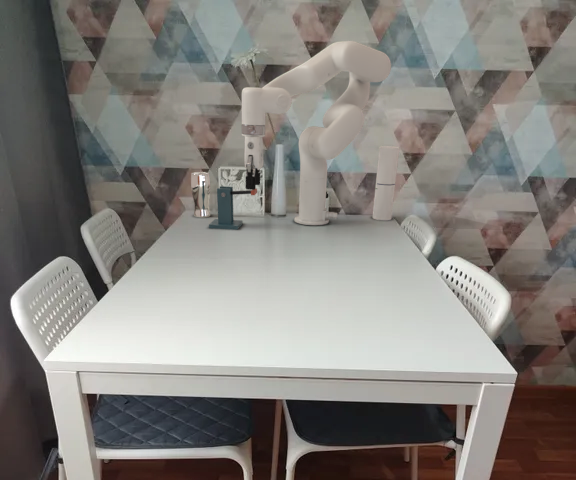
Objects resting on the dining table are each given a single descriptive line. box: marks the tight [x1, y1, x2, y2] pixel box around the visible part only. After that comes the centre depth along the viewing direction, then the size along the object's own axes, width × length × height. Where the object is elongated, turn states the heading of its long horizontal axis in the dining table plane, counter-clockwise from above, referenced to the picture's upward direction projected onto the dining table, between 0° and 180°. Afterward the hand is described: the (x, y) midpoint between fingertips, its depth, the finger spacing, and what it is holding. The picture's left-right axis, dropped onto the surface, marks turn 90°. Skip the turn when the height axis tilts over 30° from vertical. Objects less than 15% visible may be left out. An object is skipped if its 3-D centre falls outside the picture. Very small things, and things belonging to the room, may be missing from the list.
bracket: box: [208, 185, 244, 231], centre depth 188 cm, size 10×9×13 cm
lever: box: [230, 188, 258, 196], centre depth 186 cm, size 12×5×2 cm, turn 84°
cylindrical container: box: [372, 145, 400, 221], centre depth 203 cm, size 7×7×25 cm
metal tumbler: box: [190, 171, 211, 219], centre depth 201 cm, size 7×7×15 cm
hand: (253, 187), depth 184 cm, fingers open, 9 cm apart
